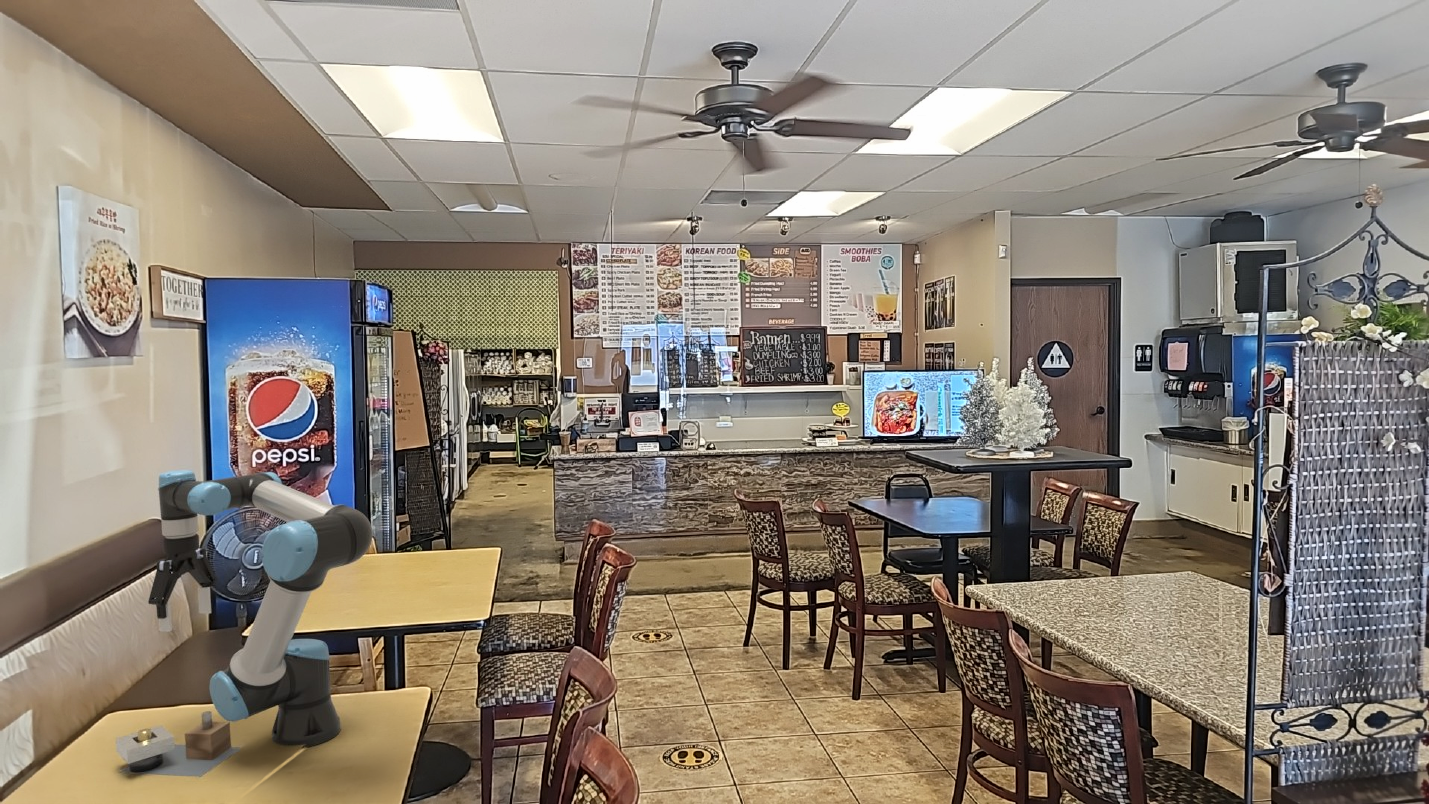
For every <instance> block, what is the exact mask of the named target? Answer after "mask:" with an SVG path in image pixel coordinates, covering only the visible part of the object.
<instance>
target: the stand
mask: <svg viewBox="0 0 1429 804" xmlns="http://www.w3.org/2000/svg"><path fill="white" fill-rule="evenodd" d="M212 714H213V713H212V711H209V710H208V711H204V712H202V713H201V723H200V724H198V725H196V726H195V727H192V729H190V730H188V731H187V732H185V733H184V743H185V744H184V745H186V759H196V760H213V759H215V758H216V757H218V756H219V755H221V754H222V753H224V752H225V751H226V750H228V749H229V748H231V747H232V742H231V739H232V737H231V726H230V724H231V723H230V722H231V721H228V722H226V721H224V722H223V721H213V716H212Z"/></svg>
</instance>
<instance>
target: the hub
mask: <svg viewBox="0 0 1429 804" xmlns="http://www.w3.org/2000/svg"><path fill="white" fill-rule="evenodd" d="M137 732H138V743H140V742H143V741H146V740H149V739H151V729H150V728H144V729H140V730H138V731H137ZM162 764H163V753H162V754H158V755H155V756H152V757H149V758H146V759H142V760H139V761H136V762H133V763H130V764H128V766H129V769H130V771H131V772H134V773H140V772H146V771H150V770H153V769H155V768H157V767H159V766H161V765H162ZM134 773H133V774H134Z"/></svg>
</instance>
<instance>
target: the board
mask: <svg viewBox="0 0 1429 804" xmlns="http://www.w3.org/2000/svg"><path fill="white" fill-rule="evenodd" d="M174 746H175V749H174V750H171V751H168V752H165V753H163V764H162V765H161V766H159V767H157V768H155V769H153V770H150V771H146V772H140V773H134V772H131V771H130V769H129V765H128V766H126V767H124V768H123V769H121V770H120V771H118V774H139V775H158V776H161V775H162V776H178V777H199V778H200V777H203V776H204V775H205V774H207V773H208V772H210V771H211V770H213V769H214V768H215V767H217V766H218V765H220V764H222V763H223V762H224V761H225V760H227V759H229V758H230V757H231V756H233V755H235V754H236V753H237V752H238V751H240V750H242V749H243V747H241V746H231V748H229V749H228V750H226V751H225V752H224V753H222V754H221V755H219V756H218V757H216V758H215V759H213V760H196V759H186V745H185V744H177V743H174Z"/></svg>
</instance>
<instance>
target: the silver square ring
mask: <svg viewBox="0 0 1429 804" xmlns="http://www.w3.org/2000/svg"><path fill="white" fill-rule="evenodd" d="M149 729H151V739H149V740H146V741H143V742H140V743H138V731H137V732H134V733H129V734H128V735H127V734H126V735H123V736H120V737H117V738H115V747H116V748H115V749H116V752H117V754H118V756H120V757H121V758H122V759H123V760H124V761H125V762H126V763H127V764H128V765H129V764H130V763H133V762H136V761H139V760H142V759H146V758H149V757H152V756H155V755H158V754H162V753H165V752H168V751H171V750H174V749H175V746H174V744H175V736H174V735H173V734H172V733H171V732H170V731H168V730H167V729H166V727H164V726H163V725H161V724H160V725H157V726H153V727H151V728H150V727H149Z"/></svg>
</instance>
